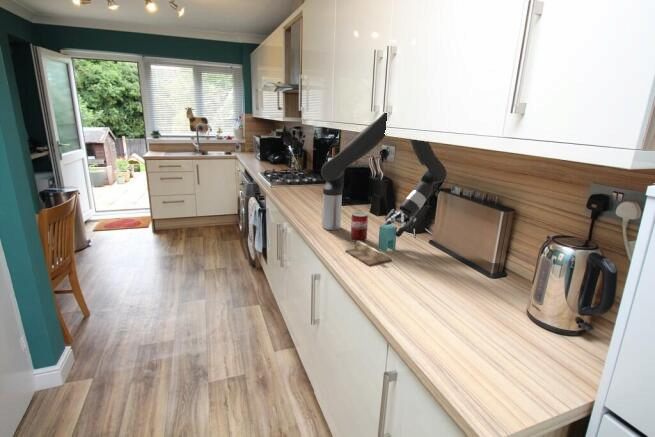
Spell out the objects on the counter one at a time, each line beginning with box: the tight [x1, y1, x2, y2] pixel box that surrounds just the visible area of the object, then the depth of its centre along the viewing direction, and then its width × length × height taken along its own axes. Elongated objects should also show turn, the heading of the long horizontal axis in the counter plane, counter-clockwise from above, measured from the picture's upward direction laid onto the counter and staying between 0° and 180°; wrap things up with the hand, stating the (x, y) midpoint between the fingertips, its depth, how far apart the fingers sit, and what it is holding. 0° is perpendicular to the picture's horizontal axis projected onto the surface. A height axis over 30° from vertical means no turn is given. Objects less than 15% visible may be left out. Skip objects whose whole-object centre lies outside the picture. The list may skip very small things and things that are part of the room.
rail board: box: [345, 241, 392, 267], centre depth 138 cm, size 16×11×4 cm
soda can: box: [350, 211, 369, 243], centre depth 156 cm, size 7×7×12 cm
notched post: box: [377, 224, 398, 252], centre depth 145 cm, size 4×6×10 cm
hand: (390, 232), depth 146 cm, fingers open, 8 cm apart
